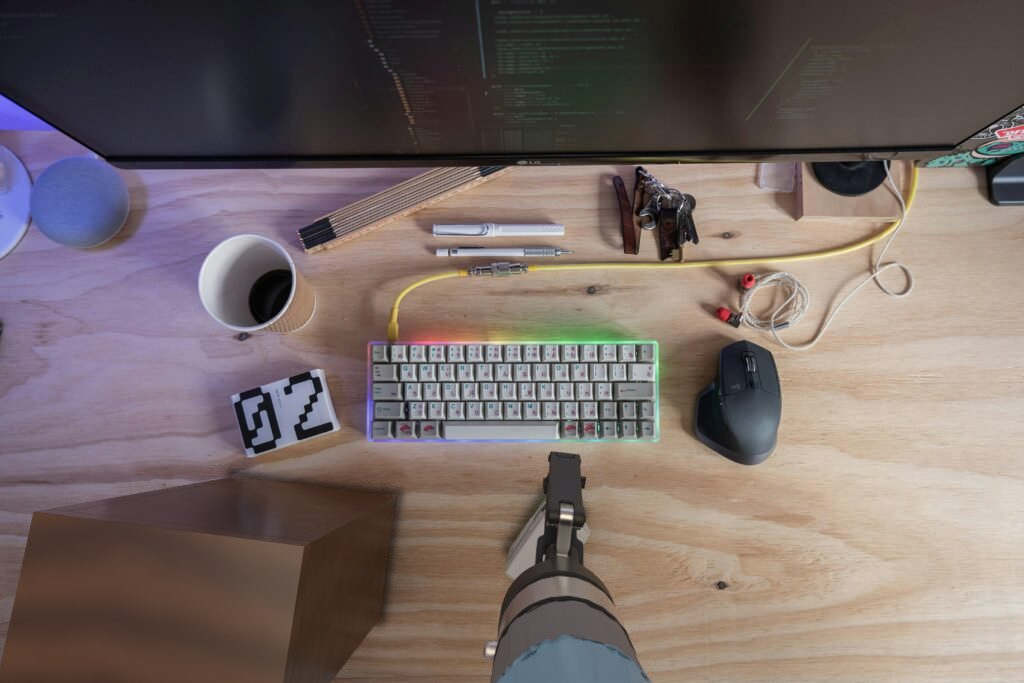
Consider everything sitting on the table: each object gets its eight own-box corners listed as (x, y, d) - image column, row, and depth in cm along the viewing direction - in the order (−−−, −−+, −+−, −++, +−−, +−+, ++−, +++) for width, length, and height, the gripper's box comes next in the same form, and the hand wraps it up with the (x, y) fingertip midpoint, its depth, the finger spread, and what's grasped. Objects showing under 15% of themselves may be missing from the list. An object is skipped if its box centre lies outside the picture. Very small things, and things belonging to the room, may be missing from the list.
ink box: (549, 488, 71) (553, 501, 59) (583, 513, 71) (594, 531, 59) (506, 550, 70) (502, 575, 58) (540, 576, 70) (543, 607, 58)
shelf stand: (379, 619, 70) (280, 747, 42) (212, 597, 70) (7, 708, 43) (396, 496, 71) (312, 541, 44) (233, 476, 72) (49, 508, 45)
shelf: (280, 747, 42) (271, 759, 40) (7, 708, 43) (-12, 719, 41) (312, 541, 44) (304, 545, 42) (49, 508, 45) (33, 511, 43)
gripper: (521, 419, 37) (524, 418, 58) (471, 863, 34) (494, 692, 55) (643, 433, 36) (602, 427, 58) (604, 883, 33) (576, 703, 54)
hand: (549, 556), depth 56 cm, fingers open, 13 cm apart
